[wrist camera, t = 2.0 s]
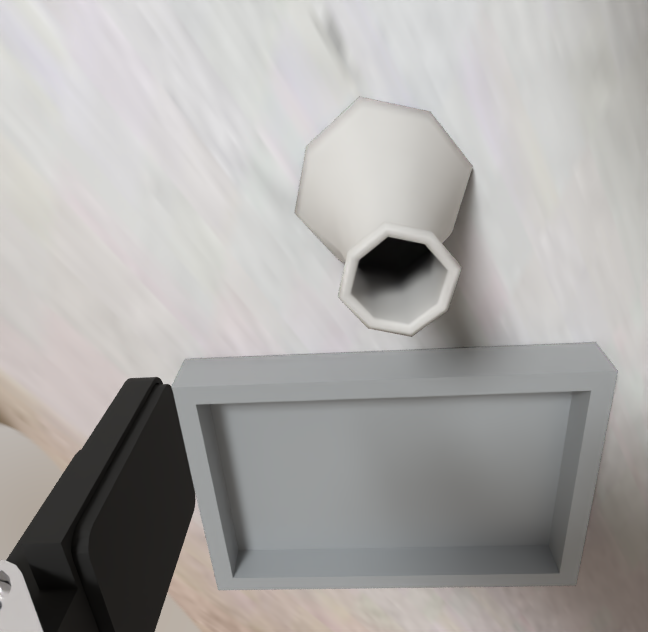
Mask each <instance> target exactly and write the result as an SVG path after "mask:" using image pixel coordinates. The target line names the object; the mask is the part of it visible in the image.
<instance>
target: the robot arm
mask: <svg viewBox="0 0 648 632" xmlns="http://www.w3.org/2000/svg"><path fill="white" fill-rule="evenodd" d="M194 508H195V490H194V485H193V480H192V476H191V471H190V467H189V462H188V458H187V453H186V449H185V444H184V440H183V435H182V431H181V426H180V422H179V417H178V412H177V408H176V403H175V399H174V394H173V390H172V387H171V386H170V385H169V384H163V383H162V381H161V379H160V378H158V377H150V378H130V379H128V380H127V381H126V382H125V383H124V385H123V386H122V388H121V389H120V391H119V392H118V394H117V395H116V397H115V399H114V400H113V402H112V403H111V405H110V406H109V408H108V409H107V411H106V412H105V414H104V416H103V417H102V419H101V420H100V422H99V423H98V425H97V426H96V428H95V429H94V431H93V433H92V434H91V436H90V437H89V439H88V440H87V442H86V443H85V445H84V446H83V448H82V449H81V450H79V451H78V453H77V454H76V455H75V456H74V457H73V459H72V461H71V462H70V464H69V465H68V467H67V468H66V470H65V471H64V473H63V474H62V476H61V478H60V479H59V481H58V482H57V483H56V485H55V486H54V488H53V490H52V491H51V493H50V494H49V496H48V497H47V499H46V500H45V502H44V503H43V505H42V506H41V508H40V509H39V511H38V512H37V514H36V516H35V517H34V519H33V520H32V522H31V523H30V525H29V526H28V528H27V529H26V531H25V532H24V534H23V536H22V537H21V538H20V540H19V542H18V543H17V545H16V546H15V548H14V549H13V551H12V552H11V554H10V555H9V557H8V558H7V560H0V632H154V631H155V629H156V625H157V622H158V619H159V616H160V613H161V610H162V607H163V604H164V601H165V598H166V595H167V592H168V589H169V586H170V582H171V579H172V576H173V573H174V570H175V567H176V564H177V561H178V558H179V555H180V552H181V549H182V546H183V543H184V539H185V536H186V533H187V530H188V527H189V524H190V521H191V518H192V515H193V512H194Z"/></svg>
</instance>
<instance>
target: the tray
mask: <svg viewBox="0 0 648 632" xmlns="http://www.w3.org/2000/svg"><path fill="white" fill-rule="evenodd" d="M617 373H618V370H617V369H616V368H615V366H614V365H613V364H612V363H611V361H610V360H609V359H608V357H607V356H606V355H605V353H604V352H603V351H602V350H601V348H600V347H599V346H598V344H597V343H596V342H592V343H568V344H543V345H519V346H494V347H470V348H445V349H421V350H396V351H371V352H347V353H322V354H298V355H273V356H249V357H224V358H200V359H185V360H184V362H183V364H182V366H181V368H180V370H179V372H178V374H177V376H176V378H175V380H174V382H173V384H172V386H171V387H172V390H173V394H174V399H175V403H176V408H177V412H178V417H179V422H180V426H181V431H182V435H183V440H184V444H185V449H186V453H187V458H188V462H189V467H190V471H191V476H192V480H193V485H194V489H195V493H196V497H197V502H198V506H199V510H200V515H201V519H202V523H203V527H204V532H205V536H206V540H207V544H208V549H209V553H210V557H211V562H212V566H213V570H214V574H215V579H216V583H217V587H218V590H270V589H350V588H429V587H509V586H576V584H577V578H578V573H579V568H580V563H581V558H582V553H583V548H584V543H585V537H586V532H587V527H588V522H589V517H590V512H591V507H592V502H593V496H594V491H595V486H596V481H597V476H598V471H599V466H600V460H601V455H602V450H603V445H604V440H605V435H606V430H607V425H608V419H609V414H610V409H611V404H612V399H613V394H614V389H615V384H616V378H617Z"/></svg>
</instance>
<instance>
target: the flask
mask: <svg viewBox="0 0 648 632" xmlns="http://www.w3.org/2000/svg"><path fill="white" fill-rule="evenodd" d="M472 167H473V166H472V164H471V163H470V162H469V161H468V159H467V158H466V157H465V156H464V154H463V153H462V152H461V150H460V149H459V148H458V147H457V145H456V144H455V143H454V141H453V140H452V139H451V138H450V136H449V135H448V134H447V132H446V131H445V130H444V129H443V127H442V126H441V125H440V123H439V122H438V121H437V120H436V118H435V117H434V116H433V115H432V113H431V112H430V111H425V110H420V109H416V108H411V107H406V106H401V105H397V104H392V103H387V102H383V101H378V100H373V99H368V98H364V97H358V98H357V99H356V100H355V101H354V102H353V103H352V104H351V105H350V106H349V107H348V108H347V109H346V110H345V111H343V112H342V113H341V114H340V115H339V116H338V117H337V118H336V119H335V120H334V121H333V122H332V123H331V124H330V125H328V126H327V127H326V128H325V129H324V130H323V131H322V132H321V133H320V134H319V135H318V136H317V137H316V138H315V139H314V140H312V141H311V142H310V143H309V144H308V145H307V146H306V150H305V156H304V162H303V167H302V173H301V179H300V184H299V190H298V196H297V202H296V207H295V214H296V215H297V216H298V217H299V218H300V219H301V220H302V221H303V223H304V224H305V225H306V226H307V227H308V228H309V229H310V230H311V231H312V232H313V233H314V234H315V235H316V236H317V237H318V238H319V239H320V241H321V242H322V243H323V244H324V245H325V246H326V247H327V248H328V249H329V250H330V251H331V252H332V253H333V254H334V255H335V256H336V258H337V259H338V260H340V261H341V262H343V263H345V266H344V271H343V275H342V280H341V284H340V288H339V293H338V298H339V299H340V300H341V301H342V302H343V303H344V304H345V305H346V306H347V307H348V308H349V309H350V310H351V311H352V312H353V313H354V314H355V315H356V316H357V317H358V318H359V319H360V321H361V322H362V323H363V324H364V325H365V326H366V327H367V328H369V329H374V330H379V331H385V332H390V333H395V334H400V335H406V336H411V337H412V336H413V335H415V334H416V333H417V332H419V331H420V330H422V329H423V328H424V327H426V326H427V325H429V324H430V323H431V322H433V321H434V320H435V319H437V318H438V317H440V316H441V315H442V314H444V313H445V312H447V311H448V309H449V306H450V303H451V300H452V297H453V294H454V291H455V288H456V285H457V282H458V279H459V276H460V273H461V270H462V268H461V265H460V264H459V263H458V262H457V261H456V259H455V258H454V257H453V256H452V255H451V254H450V252H449V251H448V250H447V249H446V248H445V247H444V245H443V244H442V243H443V242H444V241H445V240H446V239H447V238H448V237H449V236H450V235H451V233H452V231H453V228H454V225H455V222H456V219H457V215H458V212H459V209H460V206H461V203H462V199H463V196H464V193H465V190H466V187H467V183H468V180H469V177H470V174H471V171H472Z"/></svg>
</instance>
